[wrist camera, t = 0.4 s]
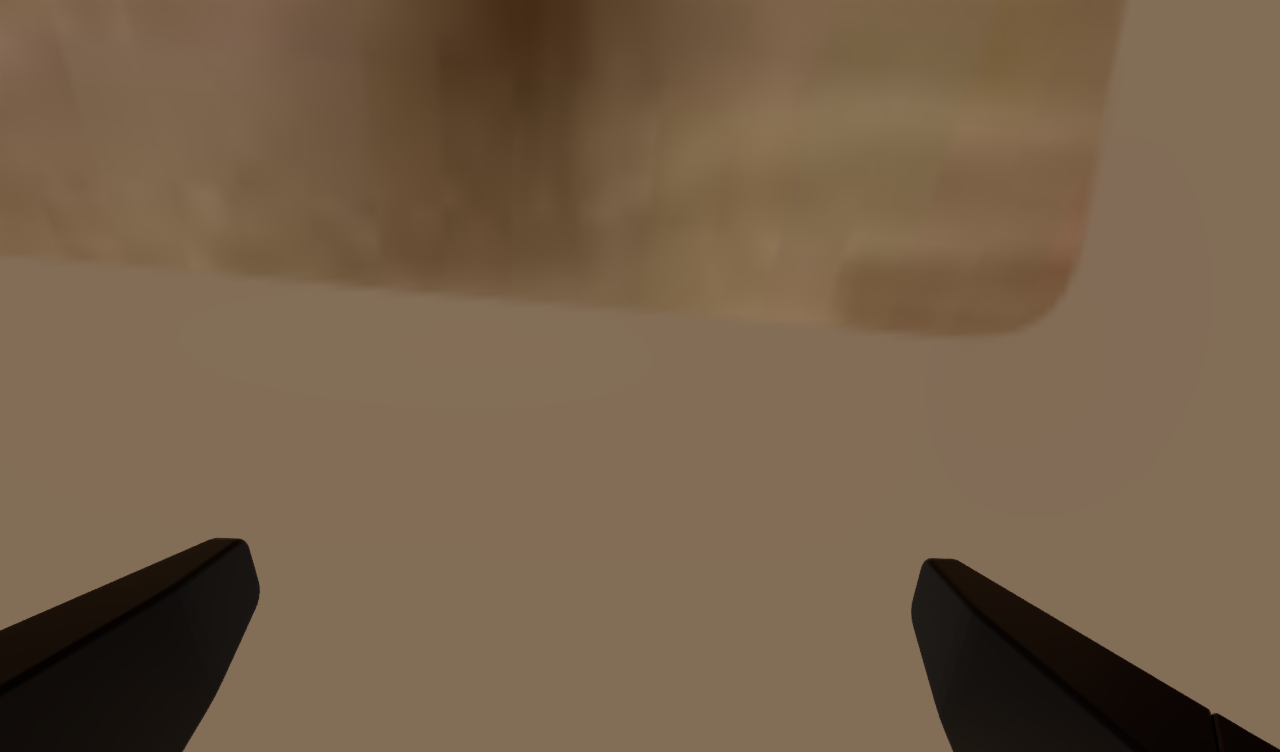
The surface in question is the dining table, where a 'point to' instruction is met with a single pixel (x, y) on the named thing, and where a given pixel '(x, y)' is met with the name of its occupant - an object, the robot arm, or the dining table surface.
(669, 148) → the dining table surface
